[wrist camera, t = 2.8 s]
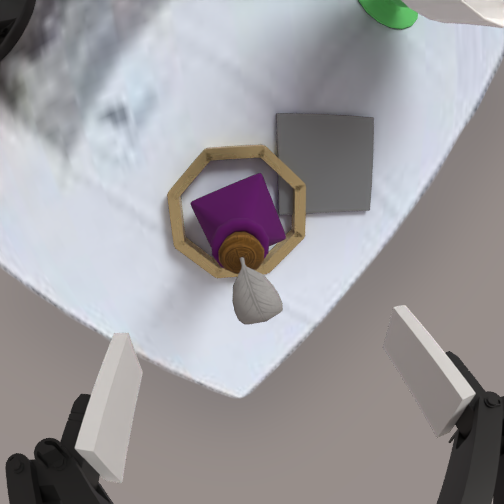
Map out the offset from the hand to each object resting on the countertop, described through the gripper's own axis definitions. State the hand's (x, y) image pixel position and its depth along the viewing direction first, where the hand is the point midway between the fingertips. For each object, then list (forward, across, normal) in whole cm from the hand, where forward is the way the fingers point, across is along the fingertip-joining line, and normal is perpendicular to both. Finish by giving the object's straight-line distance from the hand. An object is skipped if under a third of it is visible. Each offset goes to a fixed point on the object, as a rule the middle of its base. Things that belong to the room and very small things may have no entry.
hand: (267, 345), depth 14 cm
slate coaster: (+21, +10, +5) cm, 24 cm away
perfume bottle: (+22, 0, 0) cm, 22 cm away
